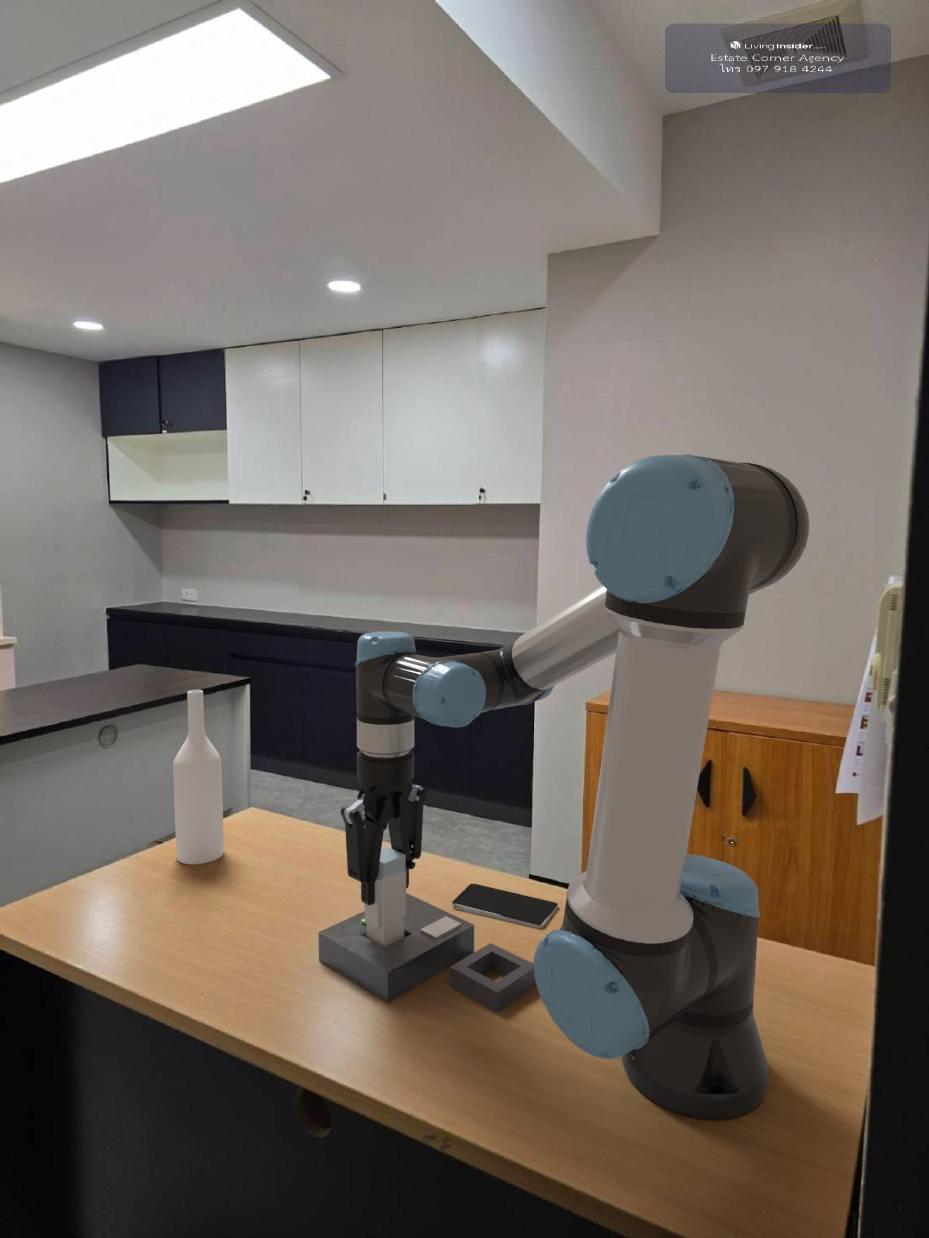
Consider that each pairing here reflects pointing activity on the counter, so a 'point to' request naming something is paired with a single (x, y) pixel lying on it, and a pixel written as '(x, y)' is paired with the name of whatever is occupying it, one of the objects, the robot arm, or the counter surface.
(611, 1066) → the counter surface
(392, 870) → the plug
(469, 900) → the smartphone
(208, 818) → the bottle
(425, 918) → the panel
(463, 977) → the grey square ring
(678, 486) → the robot arm
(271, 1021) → the counter surface
